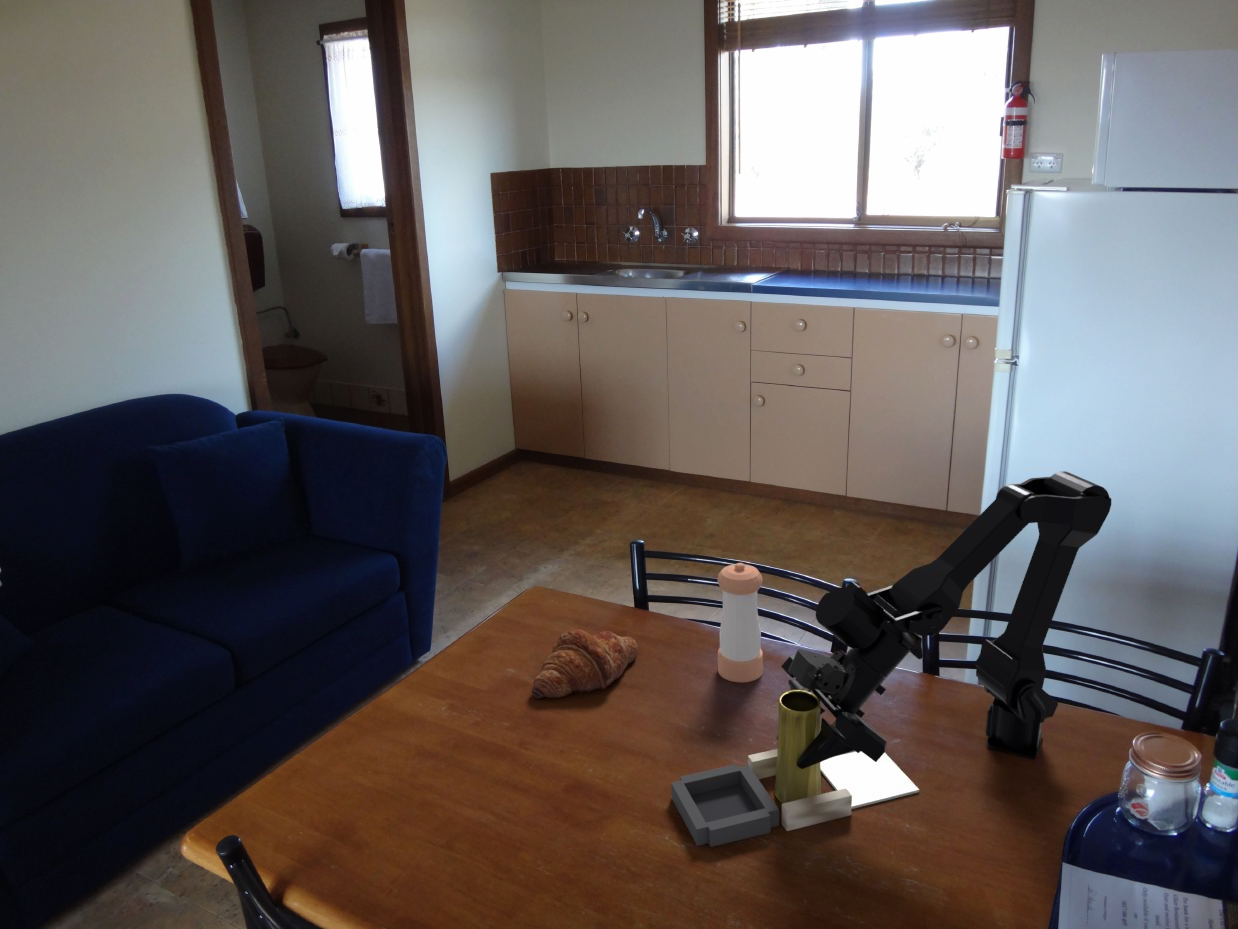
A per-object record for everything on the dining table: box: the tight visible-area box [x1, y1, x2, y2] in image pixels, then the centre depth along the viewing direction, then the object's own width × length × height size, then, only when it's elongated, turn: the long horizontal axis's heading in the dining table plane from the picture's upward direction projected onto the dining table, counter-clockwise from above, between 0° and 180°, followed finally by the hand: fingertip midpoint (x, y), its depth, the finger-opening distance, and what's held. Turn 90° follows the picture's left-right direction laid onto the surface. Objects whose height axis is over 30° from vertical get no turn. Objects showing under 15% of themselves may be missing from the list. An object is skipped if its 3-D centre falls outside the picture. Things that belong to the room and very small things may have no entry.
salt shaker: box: [717, 562, 764, 683], centre depth 152 cm, size 7×7×19 cm
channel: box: [747, 748, 853, 832], centre depth 125 cm, size 9×12×3 cm
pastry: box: [531, 628, 639, 700], centre depth 155 cm, size 17×15×8 cm
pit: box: [670, 763, 780, 848], centre depth 122 cm, size 11×11×2 cm
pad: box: [820, 751, 920, 810], centre depth 128 cm, size 10×10×1 cm
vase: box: [773, 689, 822, 804], centre depth 123 cm, size 6×6×14 cm
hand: (788, 754), depth 123 cm, fingers closed on vase, 5 cm apart
